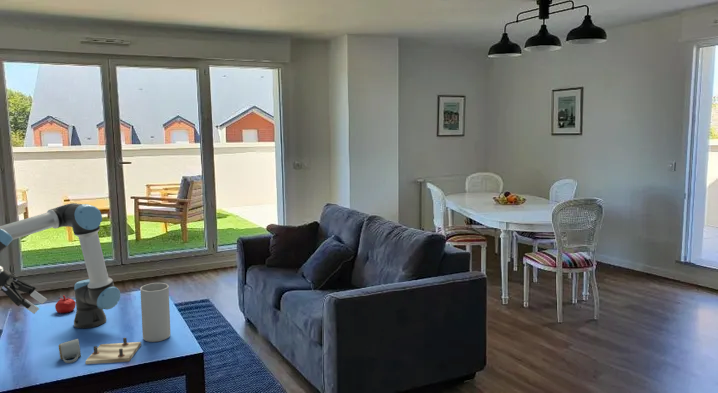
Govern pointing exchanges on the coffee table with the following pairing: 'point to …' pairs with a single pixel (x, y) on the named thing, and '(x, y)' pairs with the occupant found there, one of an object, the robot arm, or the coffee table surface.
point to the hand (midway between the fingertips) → (41, 306)
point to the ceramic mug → (69, 350)
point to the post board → (113, 352)
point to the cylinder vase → (155, 312)
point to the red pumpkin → (65, 305)
